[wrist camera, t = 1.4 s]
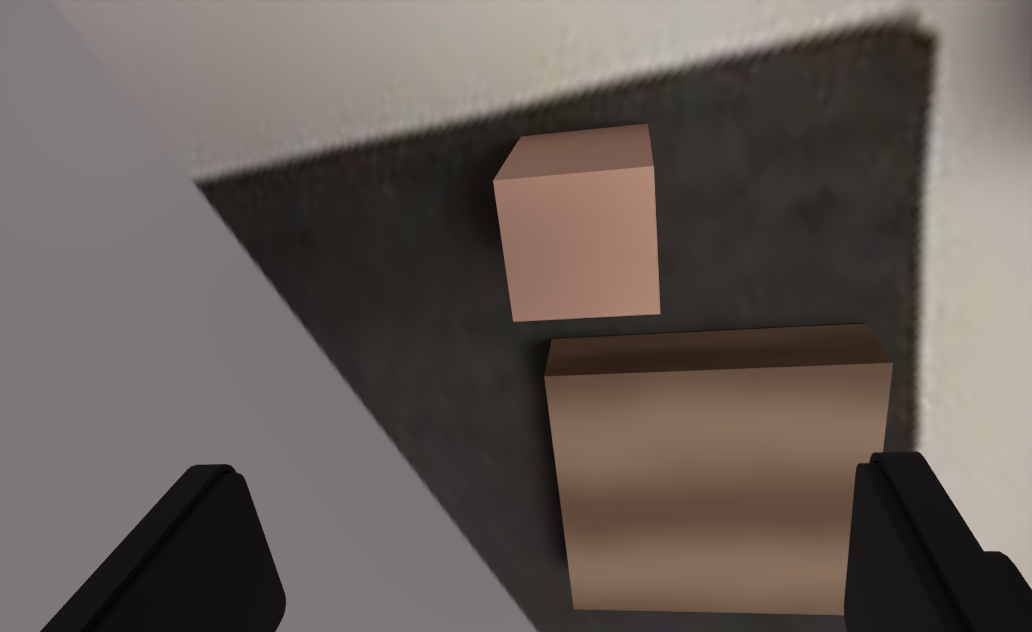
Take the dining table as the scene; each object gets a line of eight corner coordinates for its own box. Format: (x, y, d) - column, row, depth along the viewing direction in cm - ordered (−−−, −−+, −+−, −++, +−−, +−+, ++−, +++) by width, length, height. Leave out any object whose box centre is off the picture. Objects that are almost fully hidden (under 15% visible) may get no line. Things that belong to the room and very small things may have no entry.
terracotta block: (521, 136, 25) (493, 180, 20) (647, 123, 24) (653, 166, 19) (535, 252, 27) (513, 321, 22) (653, 244, 26) (660, 314, 21)
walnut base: (551, 338, 29) (544, 376, 26) (866, 323, 26) (892, 363, 24) (578, 558, 34) (574, 609, 31) (843, 560, 32) (864, 615, 29)
